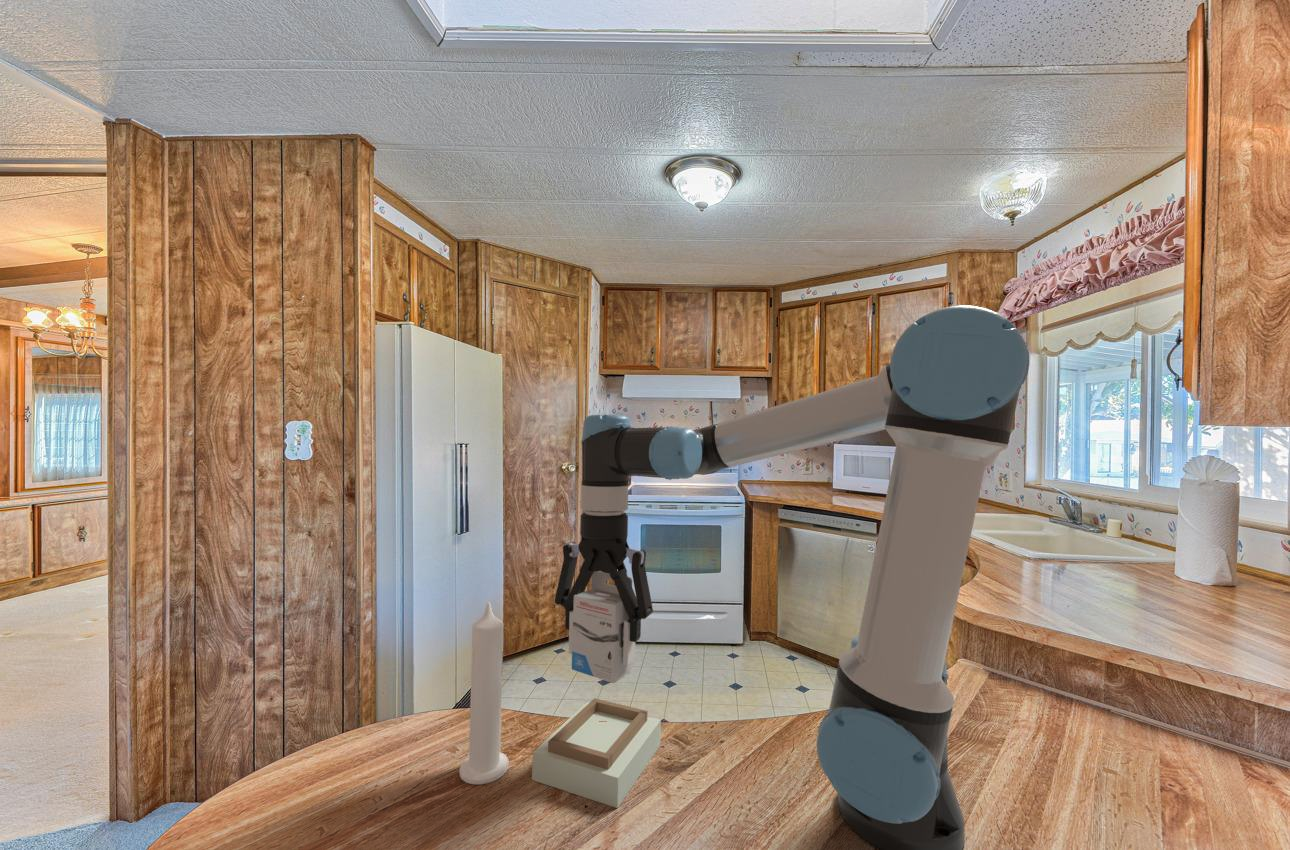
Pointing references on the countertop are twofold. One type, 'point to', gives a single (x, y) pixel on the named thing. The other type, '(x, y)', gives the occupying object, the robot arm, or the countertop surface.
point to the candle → (485, 703)
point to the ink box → (599, 631)
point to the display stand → (598, 751)
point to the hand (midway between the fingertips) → (601, 655)
